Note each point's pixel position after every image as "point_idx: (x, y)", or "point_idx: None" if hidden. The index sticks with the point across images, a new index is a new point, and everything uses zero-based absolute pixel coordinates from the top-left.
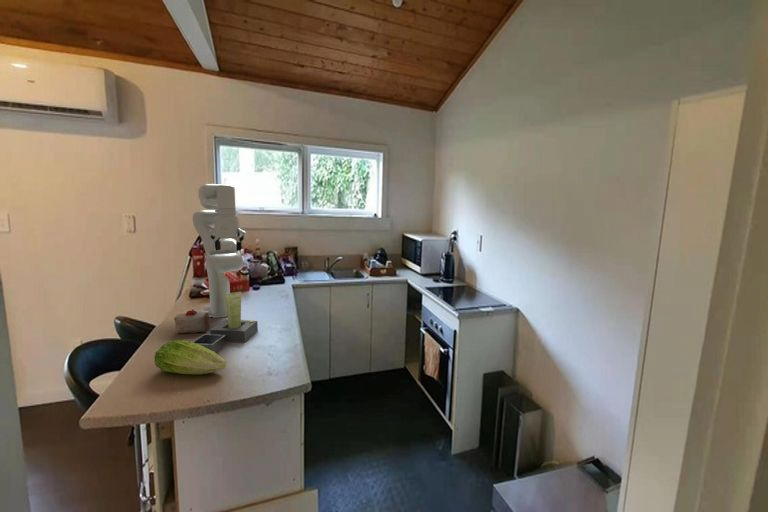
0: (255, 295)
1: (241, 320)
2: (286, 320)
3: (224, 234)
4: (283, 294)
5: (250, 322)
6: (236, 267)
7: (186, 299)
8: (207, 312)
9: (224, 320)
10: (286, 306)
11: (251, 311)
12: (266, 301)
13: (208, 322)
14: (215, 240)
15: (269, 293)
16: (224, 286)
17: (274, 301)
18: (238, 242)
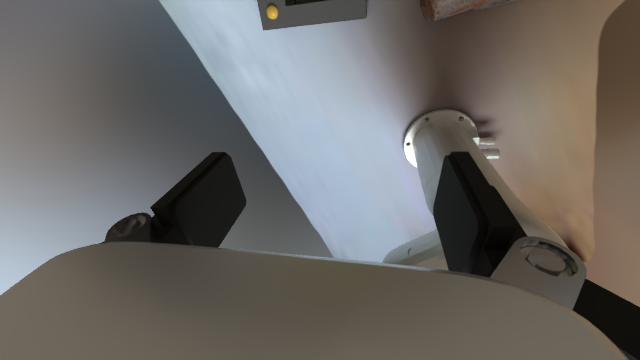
0: None
1: (310, 22)
2: (255, 121)
3: (229, 333)
4: None
5: (270, 5)
6: (401, 247)
7: (585, 237)
8: (435, 12)
9: (363, 7)
10: (305, 204)
11: (366, 169)
12: (363, 230)
13: (426, 11)
14: (526, 257)
15: None
16: (433, 175)
17: (346, 230)
18: (163, 222)
